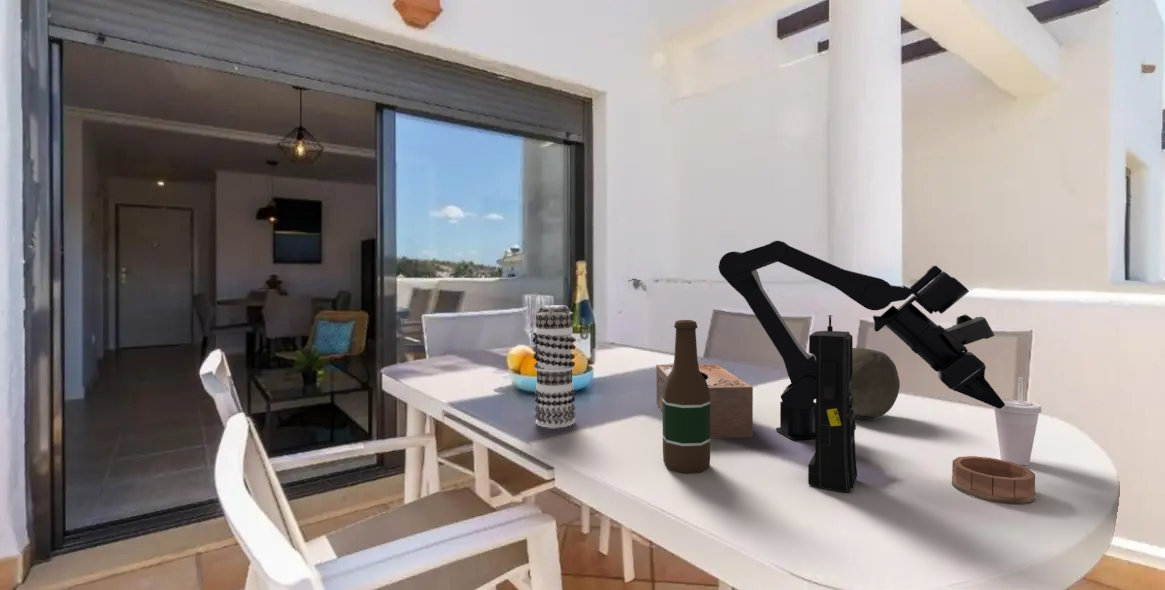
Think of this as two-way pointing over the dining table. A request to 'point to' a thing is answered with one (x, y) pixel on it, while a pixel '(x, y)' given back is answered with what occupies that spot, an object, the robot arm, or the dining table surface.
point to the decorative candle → (554, 366)
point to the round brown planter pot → (993, 480)
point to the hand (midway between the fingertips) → (996, 400)
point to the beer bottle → (686, 407)
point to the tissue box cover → (720, 400)
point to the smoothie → (1017, 428)
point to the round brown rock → (873, 383)
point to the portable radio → (833, 412)
